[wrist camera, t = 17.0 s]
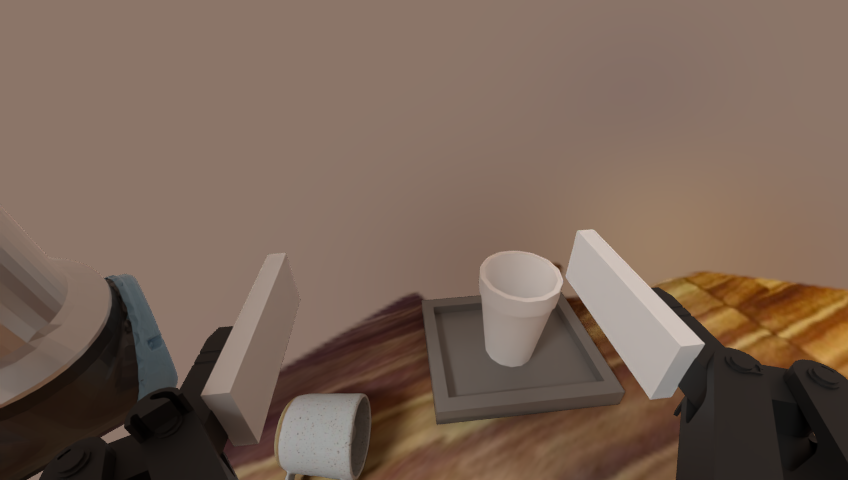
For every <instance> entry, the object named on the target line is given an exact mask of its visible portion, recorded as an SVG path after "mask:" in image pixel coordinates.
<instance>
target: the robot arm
mask: <svg viewBox="0 0 848 480" xmlns="http://www.w3.org/2000/svg"><path fill="white" fill-rule="evenodd" d="M566 278H567V280H568V281H569V283H570V284H571V286H572V287H573V288H574V290H575V291H576V293H577V294H578V296H579V297H580V299H581V300H582V302H583V303H584V304H585V306H586V307H587V309H588V310H589V312H590V313H591V315H592V316H593V318H594V319H595V320H596V322H597V323H598V325H599V326H600V328H601V329H602V331H603V332H604V333H605V335H606V336H607V338H608V339H609V341H610V342H611V344H612V345H613V346H614V348H615V349H616V351H617V352H618V354H619V355H620V357H621V358H622V359H623V361H624V362H625V364H626V365H627V367H628V368H629V370H630V371H631V372H632V374H633V375H634V377H635V378H636V380H637V381H638V383H639V384H640V385H641V387H642V388H643V390H644V391H645V393H646V394H647V396H648V397H649V398H650V399H659V398H668V397H672V395H673V394H674V392H675V391H676V389H677V387H679V388H680V389H681V390H682V392H683V393H684V394H685V397H684V398H683V400H682V401H681V403H680V404H679V406H678V407H677V408H676V410H675V412H674V414H673V415H675V416H678V415H679V413H680V412H681V420H680V434H679V447H678V460H677V473H676V480H848V380H847V379H846V378H845V377H844V376H842V375H841V374H840V373H838V372H837V371H835V370H834V369H832V368H830V367H828V366H826V365H824V364H821V363H818V362H815V361H812V360H803V359H802V360H798V361H795V362H794V363H793V364H792V366H791V367H790V368H789V369H784V368H778V367H772V366H766V365H761V364H760V362H759V361H757V360H756V359H754V358H753V357H752V356H750V355H749V354H746V353H744V352H742V351H740V350H737V349H733V348H725V347H724V346H723V345H722V344H721V343H720V342H719V341H718V340H717V339H716V338H715V337H714V336H713V335H712V334H711V333H710V332H709V331H708V330H707V329H706V328H705V327H704V326H703V325H702V324H700V323H699V322H698V321H697V320H696V319H695V318H694V317H693V316H691V314H690V313H689V312H688V311H687V310H686V309H685V308H683V307H682V305H681V304H680V303H679V302H678V301H677V300H676V299H675V298H674V297H673V296H672V295H670V294H668V293H667V292H665V291H663V290H662V289H660V288H658V287H657V288H650V287H649V286H648V285H647V284H646V283H645V282H644V281H643V280H642V279H641V278H640V277H639V276H638V275H637V274H636V273H635V271H633V270H632V269H631V268H630V266H629V265H628V264H627V263H626V262H625V261H624V260H623V259H622V258H621V257H620V256H619V255H618V254H617V253H616V252H615V251H614V250H613V249H612V248H611V247H610V246H609V245H608V244H607V243H606V242H605V241H604V240H603V239H602V238H601V237H600V236H599V235H598V233H596V231H595V230H593V229H592V230H578V231H577V234H576V238H575V242H574V246H573V250H572V253H571V257H570V261H569V265H568V269H567V273H566ZM299 303H300V296H299V293H298V290H297V287H296V283H295V280H294V276H293V273H292V270H291V267H290V263H289V260H288V257H287V253H278V254H268V256H267V258H266V260H265V262H264V264H263V266H262V268H261V270H260V272H259V275H258V277H257V279H256V281H255V283H254V285H253V287H252V289H251V291H250V294H249V295H248V298H247V300H246V302H245V304H244V306H243V308H242V310H241V312H240V314H239V316H238V318H237V320H236V323H235V325H234V326H231V327H220V328H218V329H217V330H216V331H215V332H214V333H213V334H212V335H211V336H210V337H209V338H208V339H207V340H206V342H205V344H204V346H203V348H202V349H201V351H200V355H198V357H197V359H196V360H195V362H194V365H193V366H192V368H191V370H190V371H189V373H188V375H187V377H186V379H185V381H184V382H183V384H182V386H181V388H180V390H179V389H178V388H176V385H177V381H178V376H177V372H176V369H175V367H174V364H173V361H172V359H171V357H170V354H169V352H168V349H167V347H166V345H165V342H164V340H163V339H162V337H161V333H160V331H159V329H158V326H157V324H156V321H155V318H154V316H153V314H152V311H151V309H150V307H149V305H148V303H147V300H146V298H145V296H144V294H143V292H142V290H141V288H140V286H139V284H138V282H137V280H136V278H135V277H133V276H132V275H128V274H123V275H119V276H114V275H112V276H109V277H106V278H103V277H102V276H101V275H100V274H99V273H98V272H97V271H95V270H94V269H93V268H91V267H90V266H88V265H85V264H83V263H80V262H77V261H72V260H67V259H61V258H49V257H48V256H47V255H46V254H45V253H44V252H43V251H42V249H41V248H40V247H39V246H38V245H37V244H36V243H35V242H34V241H33V240H32V239H31V237H30V236H29V235H27V233H26V232H25V231H24V230H23V229H22V228H21V227H20V226H19V224H18V223H17V222H16V221H15V220H14V219H13V218H12V217H11V216H10V215H9V214H8V212H7V211H6V210H5V209H4V208H3V207H2V206H1V205H0V480H27V479H29V478H31V477H32V476H34V475H36V474H38V473H39V472H41V471H43V470H44V471H43V473H42V475H41V477H40V479H39V480H238V478H237V476H236V474H235V472H234V470H233V468H232V466H231V464H230V462H229V460H228V458H227V456H226V454H225V453H224V451H223V449H224V446H225V444H226V441H227V438H229V440H230V441H231V443H232V444H233V446H241V445H250V444H259V441H260V438H261V434H262V431H263V427H264V424H265V420H266V417H267V413H268V410H269V407H270V403H271V400H272V396H273V393H274V389H275V386H276V382H277V379H278V376H279V372H280V369H281V365H282V362H283V358H284V355H285V351H286V348H287V344H288V341H289V338H290V334H291V331H292V327H293V324H294V320H295V317H296V313H297V310H298V307H299ZM123 424H124V428H125V429H126V430H127V431H128V432H129V433H130V434H131V435H130V436H127V437H124V438H121V439H119V440H116V441H114V442H111V443H109V444H107V443H106V442H105V441H104V440H102V439H101V438H100V437H102V436H104V435H106V434H107V433H109V432H111V431H113V430H114V429H116V428H118V427H120V426H122V425H123ZM814 434H815V435H814Z"/></svg>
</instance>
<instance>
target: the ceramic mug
mask: <svg viewBox="0 0 848 480" xmlns="http://www.w3.org/2000/svg"><path fill="white" fill-rule="evenodd" d="M370 431H371V409H370V403H369V399H368V397H367V395H365V394H362V393H356V394H341V393H337V394H306V395H300V396H297V397H295V398H293V399H292V400H291V401H290V402H289V403H288V404H287V405H286V407H285V409H284V411H283V412H282V414H281V417H280V419H279V422H278V426H277V430H276V434H275V442H274V451H275V457H276V461H277V463H278V464H279V466H280V467H281V468H282V469H284V470H286V471H287V476H286V478H285V480H294V478H295V474H302V475H309V476H313V475H314V476H321V477H326V478H332V479H340V480H356V479H358V477H359V476H360V474H361V472H362V470H363V467H364V464H365V460H366V457H367V453H368V447H369V440H370Z"/></svg>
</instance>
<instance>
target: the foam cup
mask: <svg viewBox="0 0 848 480" xmlns="http://www.w3.org/2000/svg"><path fill="white" fill-rule="evenodd" d="M562 285H563V279H562V276H561V273H560V271H559V269H558V268H557V267H556V266H554V265H553V264H552V263H551V262H550V261H549V260H547V259H545V258H543V257H540V256H538V255H536V254H533V253H529V252H523V251H515V250H514V251H504V252H498V253H496V254H494V255H491V256H489V257H487V258H486V259H485V261H484V262H483V263H482V265H481V266H480V274H479V293H480V294H481V299H482V311H483V324H484V336H485V347H486V351H487V353H488V354H489V356H490V358H491V359H493V360H494V361H496V362H497V363H499V364H500V365H504V366H508V367H516V366H522V365H523V364H525V363H526V362H528V361H529V359H530V357H531V355H532V353H533V351H534V349H535V346H536V344H537V342H538V340H539V338H540V335H541V333H542V331H543V329H544V327H545V324H546V322H547V320H548V318H549V316H550V313H551V311H552V310H553V309H554V308H555V307H556V304H557V302H558V299H559V297H560V293H561V289H562Z"/></svg>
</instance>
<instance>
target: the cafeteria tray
mask: <svg viewBox="0 0 848 480" xmlns="http://www.w3.org/2000/svg"><path fill="white" fill-rule="evenodd" d="M422 314H423V322H424V330H425V337H426V345H427V353H428V361H429V368H430V376H431V384H432V391H433V399H434V407H435V414H436V422H437V425H438V424H446V423H455V422H464V421H473V420H482V419H491V418H500V417H509V416H518V415H526V414H535V413H544V412H553V411H562V410H571V409H580V408H589V407H597V406H606V405H615V404H619V403H620V401H621V399H622V397H623V395H624V393H625V391H624V389H623V388H622V386H621V384H620V383H619V381H618V380H617V378H616V377H615V375H614V374H613V372H612V370H611V369H610V367H609V366H608V364H607V363H606V361H605V359H604V358H603V356H602V355H601V353H600V352H599V350H598V349H597V347H596V345H595V344H594V342H593V341H592V339H591V338H590V336H589V334H588V333H587V331H586V330H585V328H584V327H583V325H582V323H581V322H580V320H579V319H578V317H577V316H576V314H575V313H574V311H573V309H572V308H571V306H570V305H569V303H568V302H567V300H566V298H565V297H564V295H563V294H562V292H561V293H560V297H559V299H558V302H557V304H556V307H555V308H554V309H553V310H552V311H551V313H550V316H549V318H548V320H547V322H546V324H545V327H544V329H543V331H542V333H541V335H540V338H539V340H538V342H537V344H536V346H535V349H534V351H533V353H532V355H531V357H530V359H529V361H528V362H526V363H525V364H523V365H522V366H516V367H508V366H504V365H500V364H499V363H497V362H496V361H494V360H493V359H491V358H490V356H489V354H488V353H487V351H486V347H485V336H484V324H483V311H482V299H481V295H480V296H468V297H457V298H446V299H434V300H423V301H422Z"/></svg>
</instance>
